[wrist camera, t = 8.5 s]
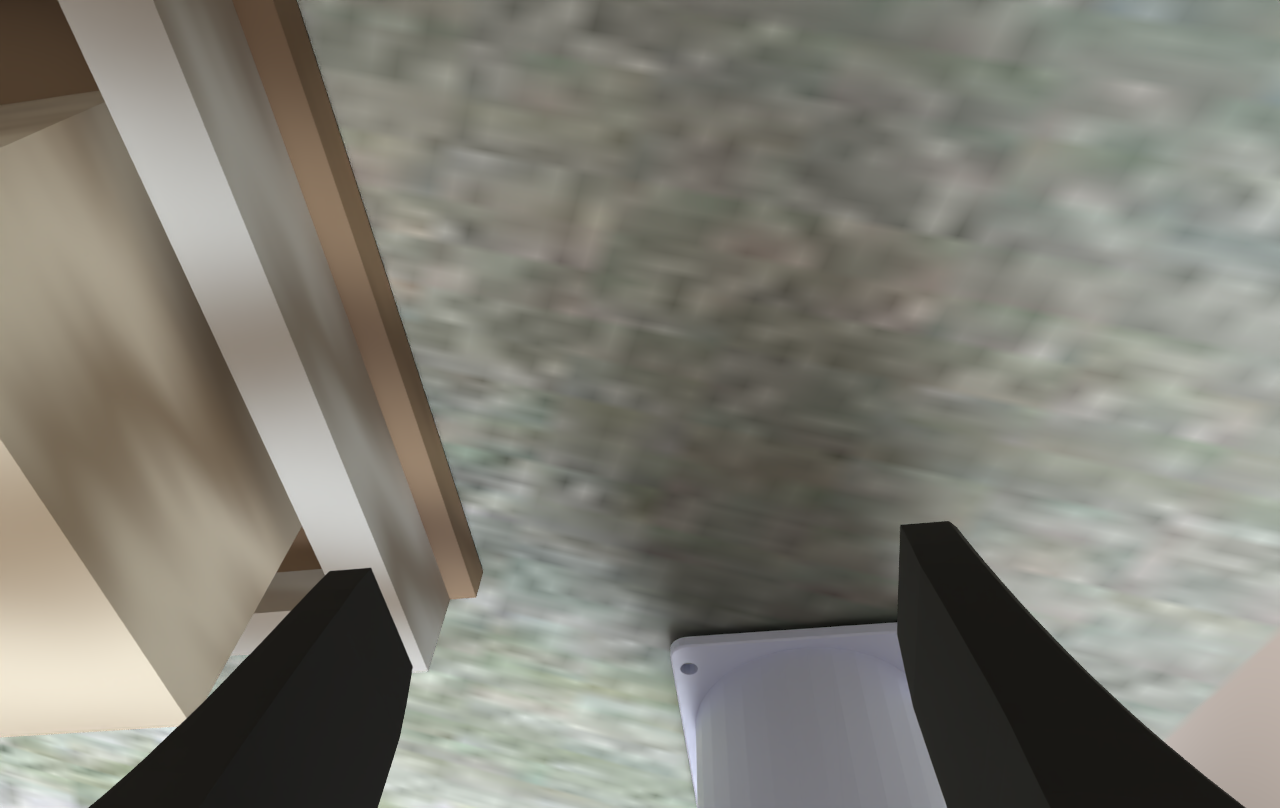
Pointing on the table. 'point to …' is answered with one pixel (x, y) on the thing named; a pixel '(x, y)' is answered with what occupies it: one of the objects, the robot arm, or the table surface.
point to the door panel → (114, 447)
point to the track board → (274, 278)
